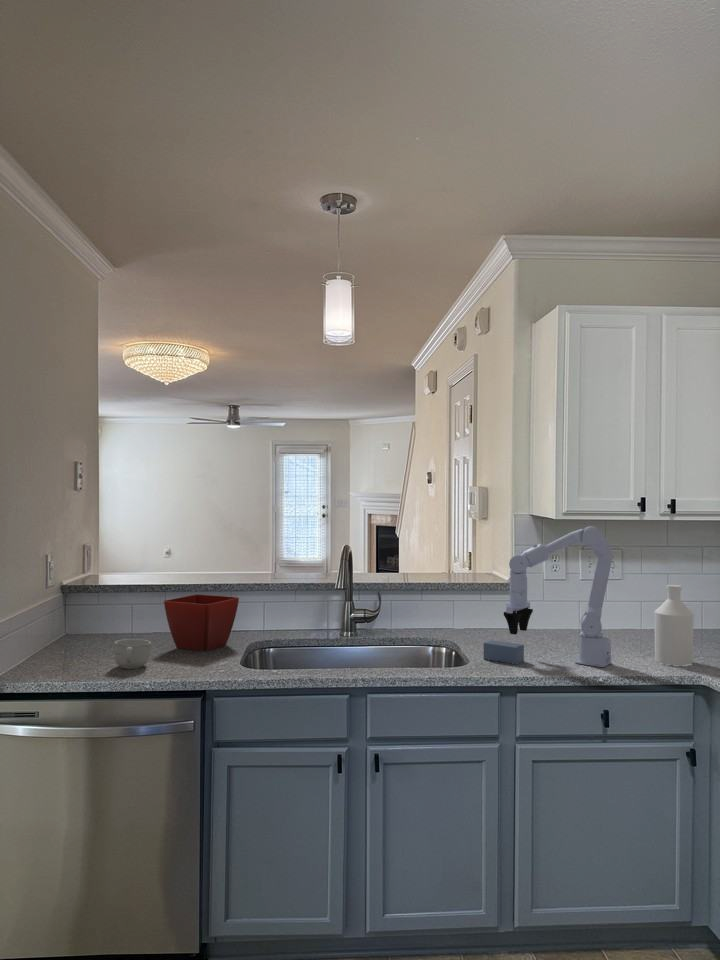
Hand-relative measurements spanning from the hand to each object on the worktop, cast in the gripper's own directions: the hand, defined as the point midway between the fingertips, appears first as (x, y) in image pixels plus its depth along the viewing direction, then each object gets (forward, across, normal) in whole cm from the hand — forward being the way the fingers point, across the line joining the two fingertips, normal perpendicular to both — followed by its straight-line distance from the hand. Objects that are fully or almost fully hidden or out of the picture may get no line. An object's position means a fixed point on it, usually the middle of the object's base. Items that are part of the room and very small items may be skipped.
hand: (518, 632), depth 248 cm
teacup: (+8, +86, -90) cm, 125 cm away
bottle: (+9, -26, +43) cm, 51 cm away
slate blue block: (+9, +6, -3) cm, 11 cm away
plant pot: (+8, +52, -96) cm, 109 cm away
